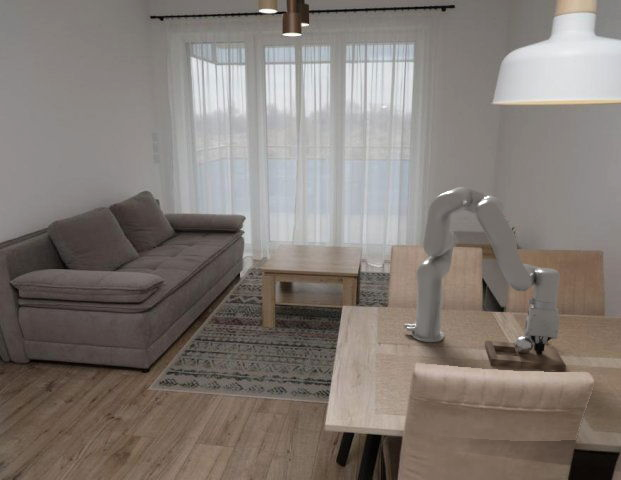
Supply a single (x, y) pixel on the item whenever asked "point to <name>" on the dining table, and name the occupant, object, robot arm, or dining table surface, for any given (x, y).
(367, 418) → the dining table surface
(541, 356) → the board
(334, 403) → the dining table surface
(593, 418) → the dining table surface
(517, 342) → the ball
